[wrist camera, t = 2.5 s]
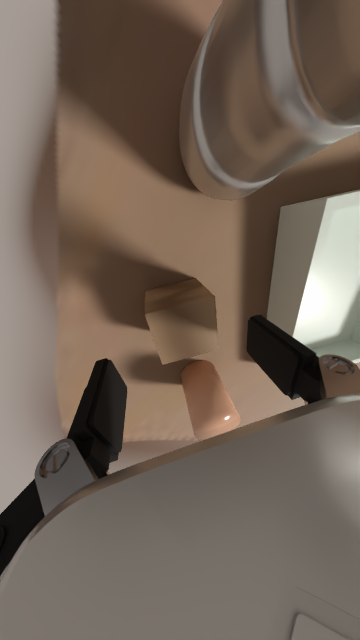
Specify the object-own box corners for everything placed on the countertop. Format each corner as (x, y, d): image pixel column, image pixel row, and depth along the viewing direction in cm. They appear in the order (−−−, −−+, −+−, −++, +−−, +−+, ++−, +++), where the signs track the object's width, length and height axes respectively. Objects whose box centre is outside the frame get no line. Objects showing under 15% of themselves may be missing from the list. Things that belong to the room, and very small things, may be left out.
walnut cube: (195, 277, 15) (214, 296, 11) (201, 320, 18) (218, 349, 13) (145, 290, 15) (144, 314, 10) (158, 331, 17) (162, 365, 13)
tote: (426, 174, 14) (515, 156, 11) (346, 338, 24) (379, 355, 21) (280, 206, 13) (327, 198, 10) (260, 363, 23) (280, 386, 20)
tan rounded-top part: (213, 356, 21) (240, 406, 15) (215, 379, 23) (239, 430, 17) (177, 366, 20) (190, 422, 14) (183, 389, 23) (197, 444, 17)
